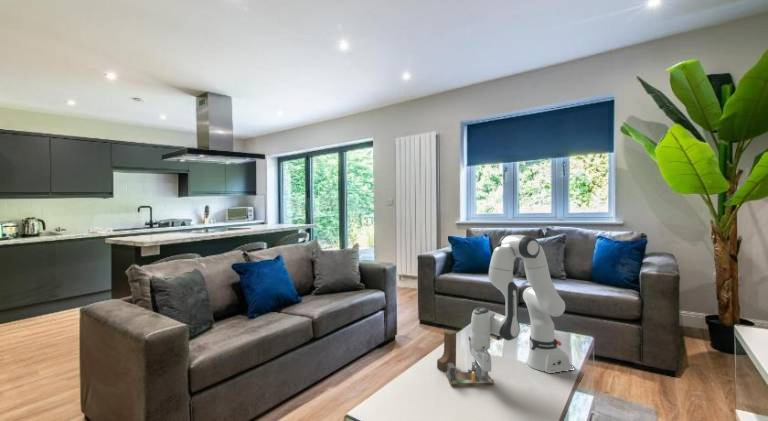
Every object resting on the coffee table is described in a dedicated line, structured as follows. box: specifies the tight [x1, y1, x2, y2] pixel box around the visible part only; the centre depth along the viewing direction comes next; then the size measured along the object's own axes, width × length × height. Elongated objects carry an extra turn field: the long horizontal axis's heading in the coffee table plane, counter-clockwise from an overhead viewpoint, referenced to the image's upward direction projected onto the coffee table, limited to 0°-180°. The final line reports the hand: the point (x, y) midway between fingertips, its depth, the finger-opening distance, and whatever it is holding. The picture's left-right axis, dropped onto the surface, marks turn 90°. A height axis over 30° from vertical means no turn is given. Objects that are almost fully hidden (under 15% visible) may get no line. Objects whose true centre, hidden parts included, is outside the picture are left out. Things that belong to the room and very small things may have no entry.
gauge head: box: [467, 361, 489, 382], centre depth 166 cm, size 8×8×6 cm
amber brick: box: [472, 371, 475, 382], centre depth 163 cm, size 1×2×4 cm, turn 4°
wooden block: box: [436, 329, 457, 372], centre depth 179 cm, size 9×4×18 cm, turn 122°
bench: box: [445, 363, 495, 388], centre depth 167 cm, size 20×10×8 cm, turn 94°
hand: (480, 371), depth 167 cm, fingers closed on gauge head, 5 cm apart
